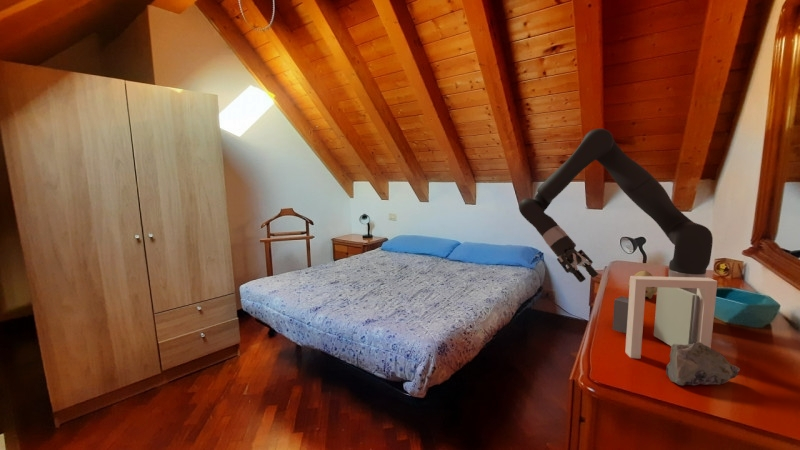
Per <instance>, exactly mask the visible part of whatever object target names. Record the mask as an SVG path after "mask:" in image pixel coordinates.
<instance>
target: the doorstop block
mask: <svg viewBox="0 0 800 450" xmlns="http://www.w3.org/2000/svg"><path fill="white" fill-rule="evenodd" d="M613 301H614V302H613V315H612V330H613V331H616V332H619V333H622V332H623V334H625V335H626V334H627V318H628V303H629V297H626V296H622V295H621V296H619V297H617V298H615V299H614V300H613Z"/></svg>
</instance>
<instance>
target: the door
mask: <svg viewBox="0 0 800 450" xmlns="http://www.w3.org/2000/svg"><path fill="white" fill-rule="evenodd" d="M655 302H656V303H655V315H654V328H653V337H655V338H657V339H658V340H660V341H662V342H664V343H665V344H667V345H668V346H670V347H671V346H672V345H673V344H680V345H687V344H694V343H695V335H696V324H697V313H698V303H699V296H697V295H696V294H693V293H691V292H688V291H686V290H683V289H680V288H668V287H657V292H656V301H655Z"/></svg>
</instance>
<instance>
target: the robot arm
mask: <svg viewBox="0 0 800 450" xmlns="http://www.w3.org/2000/svg"><path fill="white" fill-rule="evenodd" d="M594 161H597V162H598V164H600V165H601V166H603V168H604V169H605V170H606V171H607V172H608V173H609V175H610V176H611V177H612V179H613V181H615V183H616V184H617V186H618V187H619V188H620V190H622V192H623V193H624V194H625V195H626V196H627V197H628V198H629V199H630V200H631V201H632V202H633V203H634V204H635V205H636V206H637V207H638V208H639V209H640V210H641V211H643V212H644V213H645V214H646V215H647V216H649V217H650V218H651V219H652V220H653V221H654V222H655V223H656V224H657V225H658V226H659V228H660V229H661V230H662V232H663V233H664V234H665V236H666V237H667V238H668V240H669V241H670V242H671V243H672V245H674V250H673V257H672V259H671V260H670V261H669V264H668V276H667V277H700V278H707V275H706V274H707V269H708V267H709V266H710V262H711V256H712V251H713V250H712V249H713V239H714V238H713V234H712V231H711V230H710V229H709V227H706V226H705V225H703V224H700V223H696V222H694V221H693V220H691V219H689V217H688V216H686V215H685V214H684V213H683V211H681V210H680V209H678V208H677V206H676V205H675V204H674V202H673V201H672V199H671V197H670V195H669V194H668V193H667V191H666V189H665V188H664V186H662V184H661V183H660V182H659V181H658V180H657V179H656V178H655V177H654V176H653V175H652V174H651V172H649V171H648V170H647V169H645V168H644V167H643V166H642V165H641V164H639V163H637V162H636V161H635V160H633V159H632V158H631V157H629V156H628V155H627V154H626V153H625V151H623V150H622V149H621V147H620V146H619V145H618V144H617V142H616V141H615V139H614V136H613V134H612V132H610V131H609V130H607V129H605V128H594V129H591V130H590V131H588V132H587V133H586V134H585V135H584V136H583V139H582V141H581V142H580V144H579V146H578V147H577V148H576V150H575V151H574V152H573V153H572V154H571V155H570V156H569V157H568V158H567V159H566V160H565V162H563V163H562V164H561V165H560V166H559V167H558V168H557V169H556V170H555V171H554V172H552V173H551V174H550V175H549V176H548V177H547V179H545V181H543V182H542V183H541V184H540V185H539V186H538V188H537V193H536V195H535V196H534V197H533V198H529V197H527V198H524V199H522V200H521V201H520V202H519V205H518V210H519V213H520V214H521V216H522V217H523V218H524V219H525V220H526V221H527V222H528V223H529V224H530V225H532V226H533V227H534V228H535V229H536V232H538V233H539V235H540V236H541V237H542V239H543V240H544V242H545V243H546V244H547V246H548V247H549V248H550V249H551V250H552V252H553V253H554V254H555V255H556V257H557V259H556V260H557V262H558V263H559V265H560V266H561V267H562V269H564V271H565V272H566V273H568V274H569V273H570V274H572V275H573V276H574V277H575V278H576V280H577V281H578V282H579V283H583V282H584V281H586V277H585V276H584V274H583V273H582V272H581V270H579V269H578V266H579V267H581V268H584V270H585V271H586V272H587V273H588V274H589V275H590V277H591V278H593V279H594V278H595V277H597V276H598V275H599V273H598V272H597V271H596V269H595V268H594V267H593V266H592V265H593V263H594V261H593V260H592V259H591V258H590V257H589V256H588V255H587V254H586V253H585V252H584V251H583V249H580V250H578V251H577V250H576V246H577V244H576V243H575V242H574V240H573V239H572V238H571V237H570V236H569V235H568V234H567V232H566V231H565V230H564V229H563V228H561V226H560V225H559V224H558V223H557V222H556V221H555V220H554V218H553V217H552V216H550V215H549V214H547V213H546V212H545V211H546V210H547V209H548V208H549V206H550V204H552V202H553V201H554V199H555V198H557V196H559V195H560V194H561V193H562V192H563V191H564V190H565V189H566V188H567V187H568V186H569V185H570V184H571V182H572V181H574V179H575V178H576V177H578V176H579V174H580V173H581V172H583V170H584V169H585V168H587V167H588V166H589V165H590V164H592V163H593V162H594ZM680 289H683V290H686V291H688V292H691V293H693V294H696V295H697V288H680Z"/></svg>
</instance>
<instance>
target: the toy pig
mask: <svg viewBox="0 0 800 450" xmlns="http://www.w3.org/2000/svg"><path fill="white" fill-rule="evenodd" d="M633 276H654V275H653V274H652V273H651V272H649V271H648V270H640V271H638V272H635V274H634V275H633ZM628 288H630V280H629V281H628ZM656 294H657V287H646V291H645V298H646V297H647V298H648V299H653V296H654V295H656Z"/></svg>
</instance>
